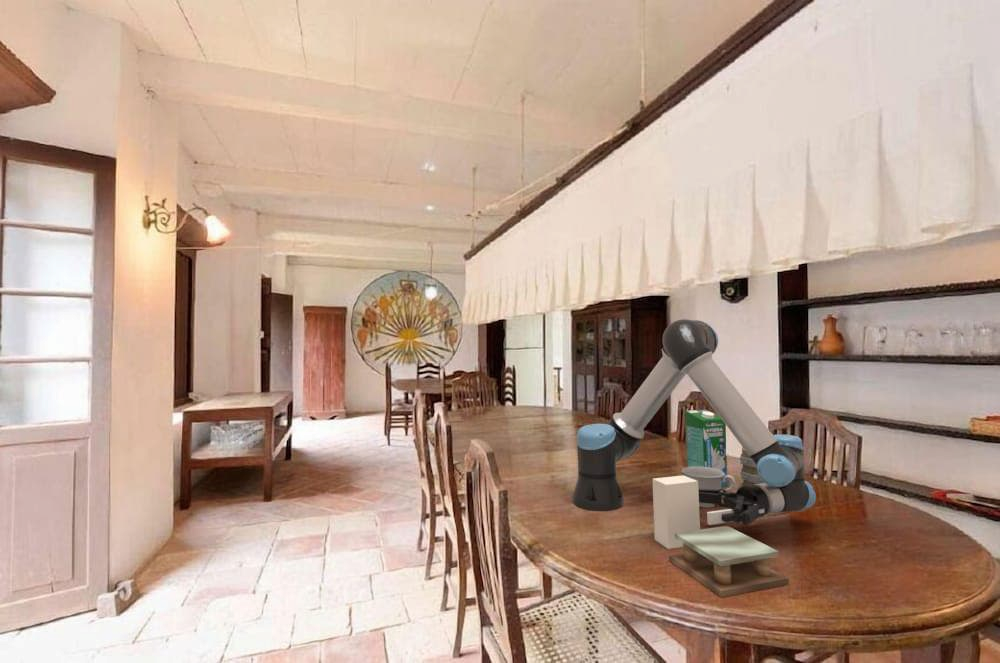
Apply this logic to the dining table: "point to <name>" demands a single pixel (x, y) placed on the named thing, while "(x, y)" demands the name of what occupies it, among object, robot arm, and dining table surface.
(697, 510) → the cream rectangular block
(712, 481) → the teacup
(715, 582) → the peg shelf
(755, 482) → the tankard
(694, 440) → the milk carton
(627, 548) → the dining table surface
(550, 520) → the dining table surface
